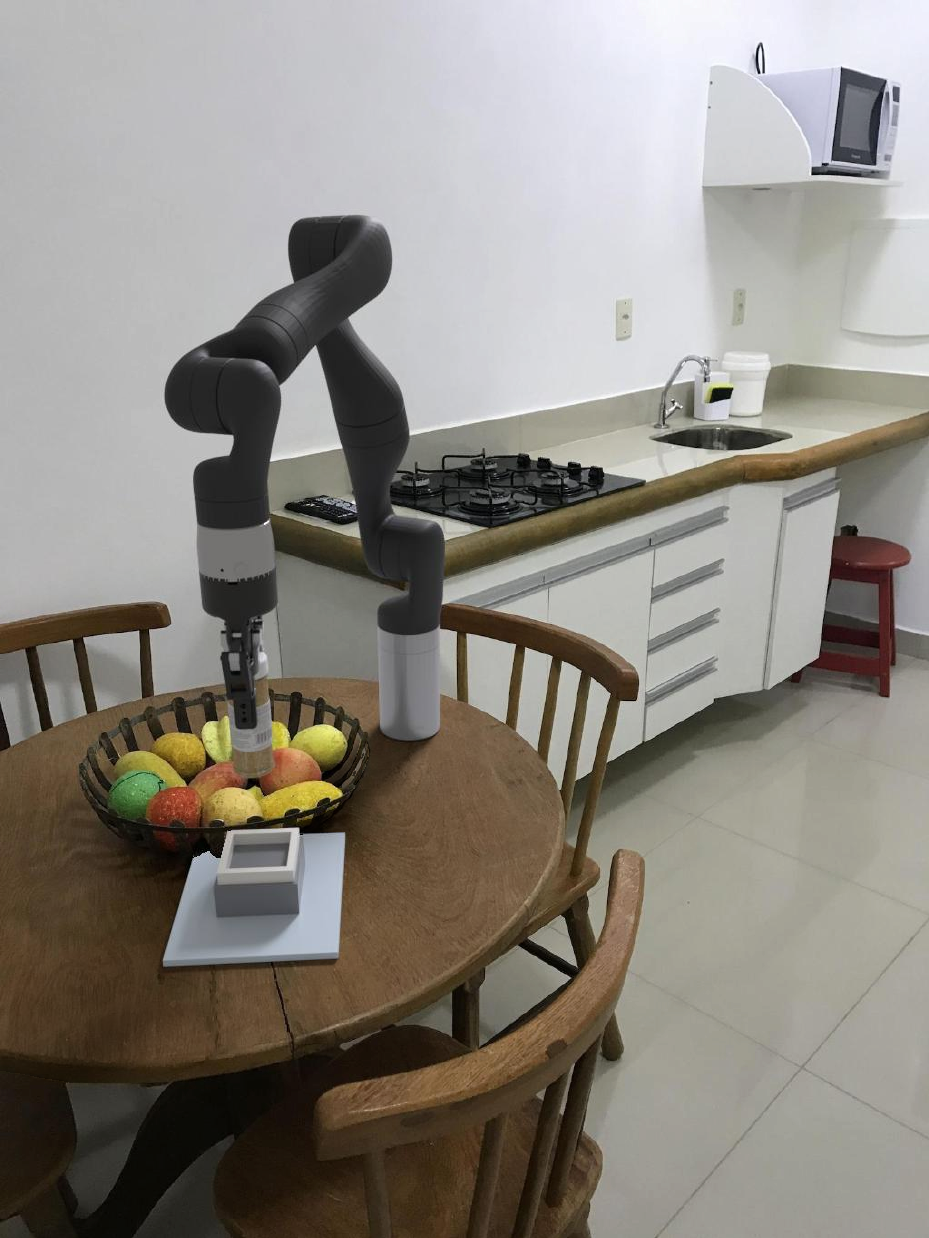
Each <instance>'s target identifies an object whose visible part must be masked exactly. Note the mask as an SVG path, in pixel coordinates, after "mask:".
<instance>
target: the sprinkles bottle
mask: <svg viewBox="0 0 929 1238" xmlns="http://www.w3.org/2000/svg"><path fill="white" fill-rule="evenodd" d="M259 655H260V671H259V672H258V673H257V674H256V675H255V683H256V689H257V694H256V708H257V721H258V723H257V726H256V728H254V729H237V728H236V726H235V717H234V706H233V700H228V699H227V712H228V713H227V714H228V724H229V734H230V744H231V751H232V760H233V764H232V769H233V772H234V774H236V775H237V776H239V777H241V778H244V779H256V778H262V777H264V776H267V775H268V774H270V773H271V772H272V771H273V770H274V769H275V765H276V762H275V759H274V752H273V751H274V750H273V748H274V747H273V741H274V740H273V739H274V737H273V726H272V712H271V711H272V709H271V699H270V694H269V683H268V674H269V661H268V655H267V654H266V653H265V651H264V652H262V651H259ZM249 664H250V666H252V665H253V662H249ZM241 685H245V684H236V686H241Z"/></svg>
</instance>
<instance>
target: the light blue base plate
mask: <svg viewBox="0 0 929 1238" xmlns="http://www.w3.org/2000/svg"><path fill="white" fill-rule="evenodd" d="M230 830H231V829H230ZM300 834H301V833H300V828H299V827H287V828H286V827H285V828H284V827H283V828H282V827H281V828H261V829H260V828H259V829H258V828H257V829H256V828H255V829H254V828H253V829H232V830H231V831H228V830H227V832H226V836H225V837H226V839H225V843H224V847H223V851H222V855H221V858H216V857H215V856H213V855H212V854H211V853H210V851H207V852H205V853H202V854H201V855H200V856H197V857H194V856H193V857H194V858H192V861H191V865H190V868H189V871H188V874H187V878H186V880H185V881H186V882H185V884H184V887H183V891H182V894H181V898H180V900H179V905H178V908H177V911H176V913H175V914H176V915H175V917H174V922H173V925H172V927H171V928H172V929H171V932H170V934H169V939H168V941H167V945H166V948H165V952H164V955H163V958H162V965H163V967H165V968H167V967H185V966H205V965H206V966H208V965H209V966H210V965H225V964H227V965H228V964H245V963H246V964H250V963H268V962H269V963H270V962H287V961H288V962H290V961H292V962H293V961H310V960H311V961H313V960H331V959H332V960H333V959H339V955H340V937H341V935H340V934H341V919H342V918H341V916H342V904H343V903H342V900H343V899H342V898H343V886H344V885H343V883H344V865H345V851H346V850H345V849H346V848H345V846H346V832H328V833H327V832H324V833H322V832H321V833H318V832H317V833H302V834H303V835H300Z"/></svg>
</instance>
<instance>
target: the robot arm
mask: <svg viewBox="0 0 929 1238" xmlns="http://www.w3.org/2000/svg"><path fill="white" fill-rule="evenodd" d="M287 241H288V242H287V256H288V257H287V258H288V262H289V268H290V273H291V276H292V280H293V281H292V282H293V283H291V284H288V285H286V286H284V287H282V288H280V289H277V290H275V291H273V292H271V293H270V294H269V295H266V297H264V298H263V299H261V300H260V301H259V302H257V304H255V305H254V306H253V307H252V308H251V309H250V310H249V311H248V312H247V314H245V316H243V317H242V319H240V321H239V322H238V323H236V325H235V326H234V327H233V328H232V329H230V330H228V331H226V332H224V333H221V334H218V335H216V336H215V337H212V338H211V339H209V340H207V341H206V342H204V343H202V344H200V345H198V346H196V347H194V348H193V349H191V350H189V351H188V352H186V353H185V354H184V355H182V356H181V357H180V358H179V359H178V360H177V361H176V363H175V364H174V365H173V367H172V368H171V370H170V372H169V373H168V375H167V379H166V381H165V386H164V395H163V397H164V405H165V408H166V410H167V413H168V415H169V417H170V418H171V420H173V421H174V423H176V425H178V426H179V428H182V429H184V430H186V431H188V432H189V431H190V432H193V433H197V434H198V433H199V434H209V435H210V434H214V435H224V436H225V435H226V436H232V437H233V442H232V447H231V450H230V453H229V454H228V455H222V456H216V457H212V458H207V459H204V460H202V461H201V462H199V463H198V464H197V465H196V466H195V467H194V470H193V476H192V486H193V487H192V488H193V495H194V504H195V515H196V543H195V545H196V554H197V555H196V556H197V566H198V575H199V576H198V577H199V586H200V595H201V597H200V598H201V607H202V610H203V612H205V613H206V614H207V615H208V616H210V617H213V618H219V619H221V620H223V621H224V623H223V624H224V625H223V629H221V630H220V646H221V647H222V650H223V651H221V652H220V653H221V654H220V656H219V660H220V662H221V667H222V668H221V669H222V673H223V679H224V686H225V697H226V698H227V701H228V700H233V706H234V717H235V726H236V728H237V729H254V728H256V726H257V723H258V721H257V708H256V694H257V689H256V683H255V675H256V674H257V673H258V672H259V671H260V655H259V651H262V652H264V653H265V639H264V634H265V621H264V619H263V616H264V615H267V614H268V613H271V612H272V611H274V609H275V608H276V607H277V605H278V603H279V596H278V582H277V567H276V566H277V564H276V551H275V540H274V539H275V538H274V534H273V533H274V532H273V528H272V524H271V518H270V517H271V515H270V499H269V486H268V479H269V469H270V466H271V465H270V463H271V458H272V451H273V447H274V446H273V445H274V441H275V436H276V433H277V429H278V428H277V427H278V424H279V420H280V415H281V409H282V408H281V407H282V393H281V387H280V386H282V385H283V383H285V382H287V380H288V379H289V378H290V377H291V376H292V374H293V373H294V372H295V371H296V369H297V368H298V367H299V366H300V365H301V363H302V362H303V361H304V359H305V358H306V357H307V356H308V354H309V353H310V352H311V351H312V350H313V349H314V348H315V346H316V351H317V353H318V357H319V360H320V364H321V368H322V371H323V374H324V379H325V384H326V386H327V387H326V388H327V392H328V394H329V399H330V404H331V408H332V414H333V418H334V422H335V426H336V430H337V433H338V434H337V435H338V437H339V441H340V444H341V447H342V452H343V454H344V457H345V462H346V466H347V470H348V475H349V479H350V482H351V487H352V492H353V497H354V503H355V509H356V515H357V523H358V530H359V538H360V545H361V549H362V555H363V558H364V561H365V564H366V567H367V568H368V570H369V571H370V572H371V573H372V574H373V575H374V576H377V577H380V578H382V579H387V580H389V579H390V580H393V581H394V580H395V581H401V582H405V583H408V593H406V594H401V595H398V596H392V597H391V598H388V599H386V600H384V601H382V602H381V603H380V604H379V606H378V607H377V613H376V615H377V619H376V620H377V621H376V622H377V650H378V651H377V657H378V694H379V696H378V697H379V698H378V699H379V729H380V731H381V732H382V734H383V735H385V736H386V737H388V738H391V739H394V740H396V741H407V742H409V741H410V742H411V741H419V740H425V739H428V738H431V737H432V736H434V735H436V733H438V732H439V730H440V728H441V610H442V604H443V599H444V598H443V597H444V577H445V576H444V573H445V561H446V560H445V559H446V540H445V534H444V531H443V528H442V526H441V525H440V524H439V523H438V522H437V521H434V520H430V519H424V518H418V517H410V516H403V515H397V514H396V513H395V512H394V508H393V505H392V501H391V492H390V489H391V484H392V481H393V479H394V477H395V475H396V473H397V471H398V470H399V467H400V466H401V463H402V462H403V459H404V457H405V455H406V453H407V449H408V447H409V442H410V439H411V438H410V428H409V426H410V425H409V420H408V416H407V410H406V405H405V402H404V396H403V392H402V389H401V387H400V385H399V383H398V381H397V380H396V378H395V377H394V376H393V375H392V373H391V371H389V369H388V368H387V367H386V366H385V364H384V363H383V362H382V361H381V359H380V358H378V357H377V355H376V354H375V353H374V352H373V351H372V350H371V349H370V348H369V347H368V346H367V344H366V343H365V341H363V339H362V338H361V337H360V336H359V335H358V333H357V332H356V330H355V329H354V327H353V324H352V323H351V321H350V319H349V318H350V317H352V316H353V314H355V313H357V311H359V310H360V309H361V308H363V307H364V306H366V305H367V304H369V303H370V302H372V301H373V300H374V299H376V298H377V297H378V296H380V295H381V293H383V291H384V290H385V289H386V287H387V285H388V283H389V281H390V277H391V274H392V269H393V250H392V244H391V240H390V236H389V234H388V231H387V229H386V228H385V226H384V225H383V224H382V222H381V221H380V220H379V219H377V218H376V217H373V216H368V215H364V214H348V215H326V216H325V215H323V216H321V215H320V216H311V217H302V218H299V219H298V220H297V221H295V222H294V223H293V225H292V226H291V228H290V230H289V234H288V240H287ZM249 662H253V665H252V666H250V664H249ZM236 684H245V685H241V686H236Z"/></svg>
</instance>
